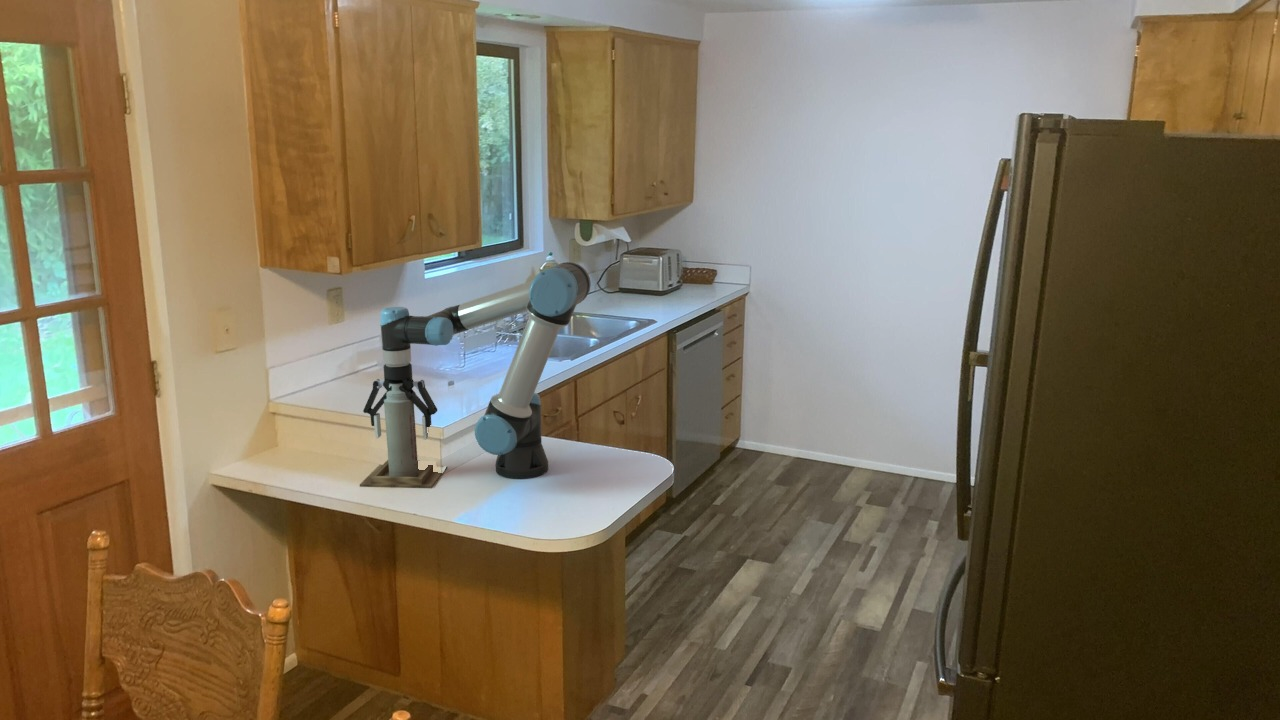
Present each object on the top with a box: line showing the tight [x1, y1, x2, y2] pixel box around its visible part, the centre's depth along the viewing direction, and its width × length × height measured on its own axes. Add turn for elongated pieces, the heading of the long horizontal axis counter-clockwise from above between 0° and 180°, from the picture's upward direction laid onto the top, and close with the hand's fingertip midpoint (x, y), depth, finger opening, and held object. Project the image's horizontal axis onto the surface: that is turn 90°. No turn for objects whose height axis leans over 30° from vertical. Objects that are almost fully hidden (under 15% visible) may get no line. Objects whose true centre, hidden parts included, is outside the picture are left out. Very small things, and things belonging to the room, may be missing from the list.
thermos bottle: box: [383, 380, 419, 477], centre depth 257 cm, size 8×8×28 cm
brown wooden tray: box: [359, 459, 443, 489], centre depth 260 cm, size 20×16×2 cm
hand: (402, 437), depth 258 cm, fingers open, 13 cm apart
